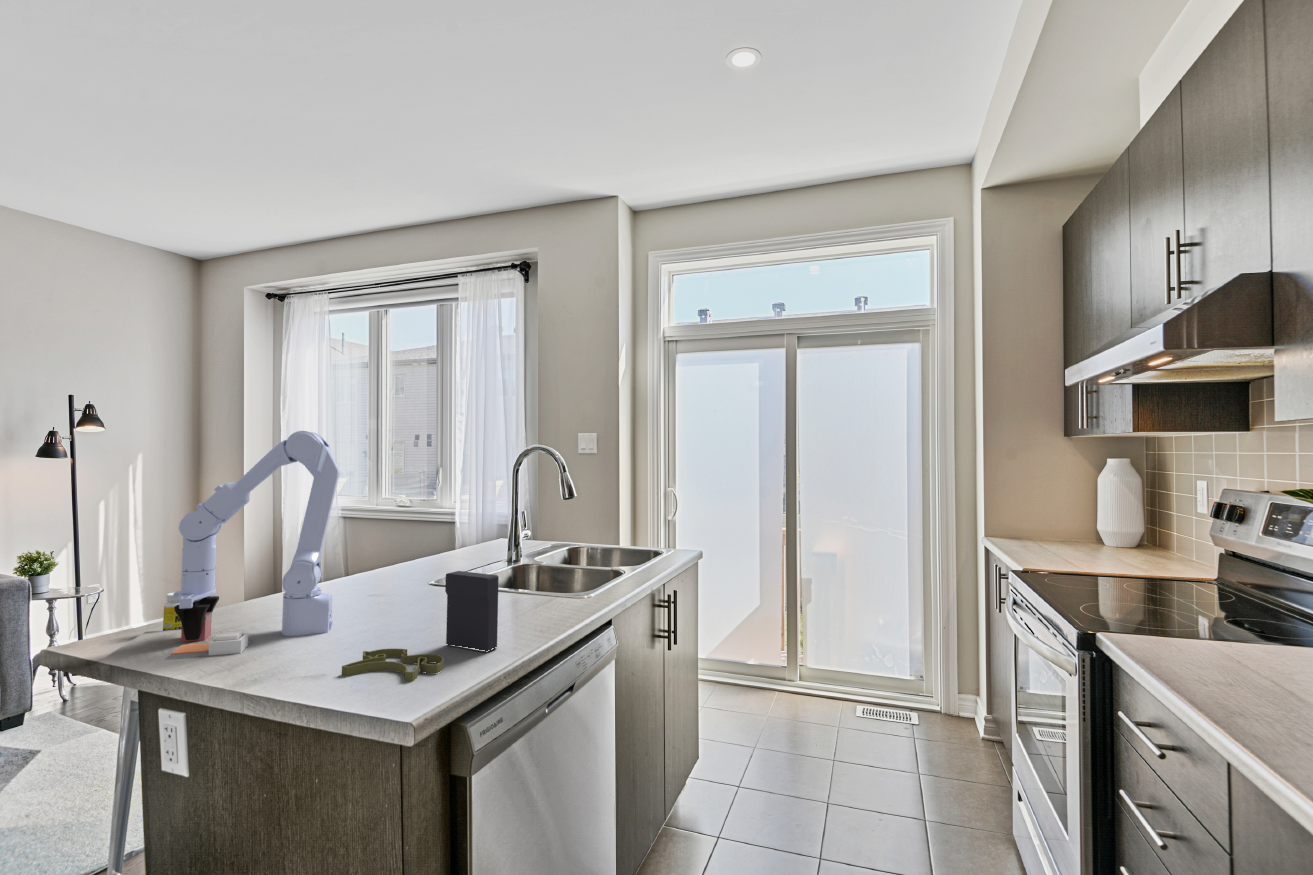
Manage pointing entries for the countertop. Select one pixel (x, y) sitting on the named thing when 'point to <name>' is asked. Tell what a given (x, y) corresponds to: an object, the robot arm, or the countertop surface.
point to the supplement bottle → (171, 614)
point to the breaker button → (229, 635)
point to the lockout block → (205, 629)
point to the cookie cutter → (394, 663)
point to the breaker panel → (211, 648)
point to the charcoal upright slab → (472, 610)
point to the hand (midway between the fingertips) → (196, 636)
